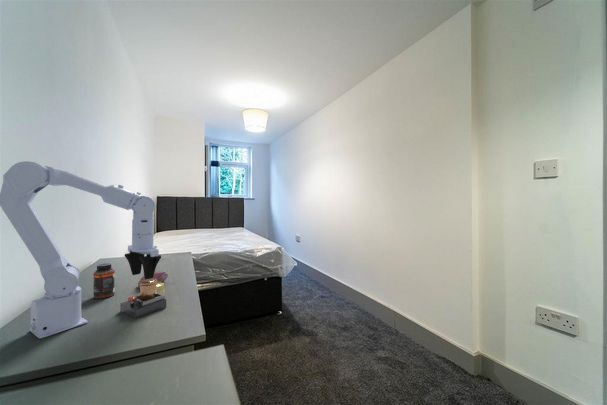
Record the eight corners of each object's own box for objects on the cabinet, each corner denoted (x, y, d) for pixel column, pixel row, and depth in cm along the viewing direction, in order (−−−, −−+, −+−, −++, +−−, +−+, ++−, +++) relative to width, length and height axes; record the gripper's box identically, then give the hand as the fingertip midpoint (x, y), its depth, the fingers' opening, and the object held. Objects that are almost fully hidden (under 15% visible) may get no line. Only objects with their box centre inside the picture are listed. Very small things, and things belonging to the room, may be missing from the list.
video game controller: (140, 293, 94) (143, 278, 92) (136, 285, 96) (139, 271, 95) (167, 286, 102) (170, 272, 100) (162, 279, 104) (166, 265, 102)
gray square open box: (135, 318, 71) (135, 302, 71) (120, 311, 75) (120, 296, 75) (166, 307, 78) (166, 292, 78) (150, 301, 83) (150, 287, 83)
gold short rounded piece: (149, 301, 83) (149, 289, 83) (139, 297, 86) (139, 286, 86) (168, 295, 88) (168, 284, 88) (158, 291, 92) (158, 281, 92)
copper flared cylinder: (145, 304, 75) (145, 284, 74) (135, 301, 77) (135, 282, 77) (160, 298, 79) (160, 280, 79) (151, 295, 81) (151, 277, 81)
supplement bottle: (119, 293, 90) (119, 262, 90) (104, 299, 84) (104, 266, 84) (104, 292, 90) (104, 262, 90) (88, 299, 84) (88, 266, 84)
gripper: (168, 234, 78) (168, 276, 78) (144, 230, 85) (143, 269, 85) (144, 236, 72) (144, 283, 72) (120, 233, 79) (120, 274, 79)
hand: (142, 276), depth 78 cm, fingers open, 7 cm apart
